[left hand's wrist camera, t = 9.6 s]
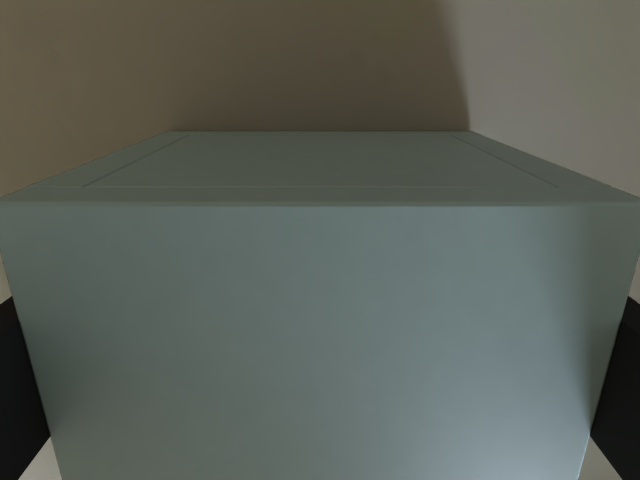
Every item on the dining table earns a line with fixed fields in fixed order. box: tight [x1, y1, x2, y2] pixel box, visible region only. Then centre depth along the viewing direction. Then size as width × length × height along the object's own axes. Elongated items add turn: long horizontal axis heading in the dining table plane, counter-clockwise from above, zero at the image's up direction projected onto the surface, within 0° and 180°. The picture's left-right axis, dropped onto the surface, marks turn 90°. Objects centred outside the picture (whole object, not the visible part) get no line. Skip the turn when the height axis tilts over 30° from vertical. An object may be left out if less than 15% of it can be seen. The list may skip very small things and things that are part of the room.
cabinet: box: [0, 131, 640, 480], centre depth 15 cm, size 19×11×9 cm, turn 0°
